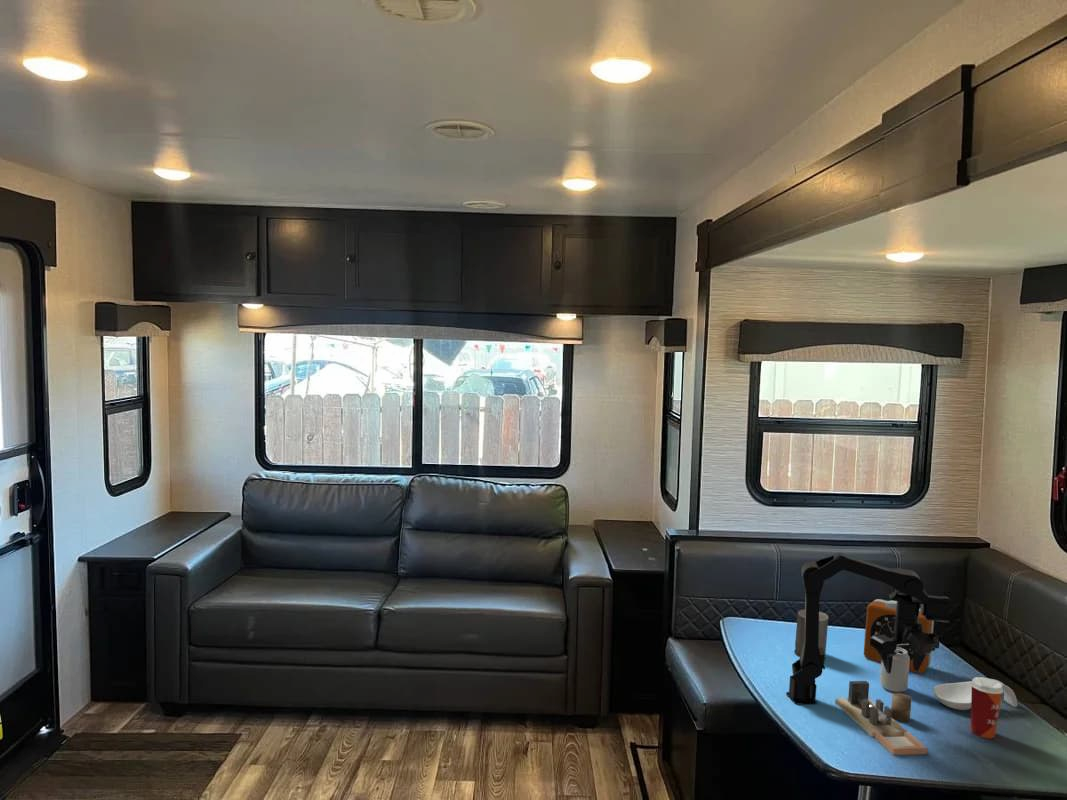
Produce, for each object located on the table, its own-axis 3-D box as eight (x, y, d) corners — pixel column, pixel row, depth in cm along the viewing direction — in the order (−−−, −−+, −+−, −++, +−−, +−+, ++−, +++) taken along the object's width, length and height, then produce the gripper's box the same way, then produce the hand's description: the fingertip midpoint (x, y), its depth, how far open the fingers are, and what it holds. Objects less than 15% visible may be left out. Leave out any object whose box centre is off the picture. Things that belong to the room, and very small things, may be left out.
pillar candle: (788, 651, 259) (791, 607, 258) (810, 647, 264) (813, 604, 262) (809, 662, 251) (813, 617, 249) (832, 658, 255) (835, 614, 253)
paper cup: (999, 743, 203) (1003, 691, 202) (965, 734, 207) (970, 683, 206) (999, 731, 210) (1004, 681, 208) (967, 723, 214) (971, 673, 212)
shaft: (874, 724, 207) (876, 703, 207) (848, 701, 221) (849, 681, 220) (892, 724, 208) (893, 703, 207) (864, 700, 221) (866, 681, 221)
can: (910, 695, 229) (913, 655, 229) (883, 692, 231) (886, 652, 230) (903, 684, 237) (906, 646, 236) (877, 681, 238) (880, 643, 237)
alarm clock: (862, 658, 256) (866, 597, 254) (871, 650, 262) (875, 591, 261) (923, 675, 244) (928, 611, 242) (930, 667, 250) (935, 605, 249)
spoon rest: (950, 716, 218) (952, 691, 217) (923, 697, 229) (925, 673, 229) (1026, 713, 221) (1028, 689, 220) (996, 694, 233) (998, 671, 232)
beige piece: (871, 736, 204) (872, 716, 203) (835, 702, 223) (836, 684, 222) (907, 735, 205) (908, 716, 205) (868, 702, 224) (869, 683, 223)
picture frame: (892, 754, 195) (893, 748, 195) (875, 738, 203) (875, 732, 203) (926, 754, 196) (926, 747, 196) (907, 737, 204) (908, 731, 204)
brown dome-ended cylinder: (897, 722, 212) (898, 701, 212) (887, 714, 217) (888, 693, 217) (913, 722, 213) (915, 701, 212) (903, 713, 218) (904, 693, 217)
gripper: (900, 630, 205) (895, 687, 206) (957, 625, 210) (952, 681, 211) (870, 615, 215) (866, 669, 217) (926, 611, 221) (921, 664, 222)
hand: (902, 671), depth 216 cm, fingers open, 9 cm apart
